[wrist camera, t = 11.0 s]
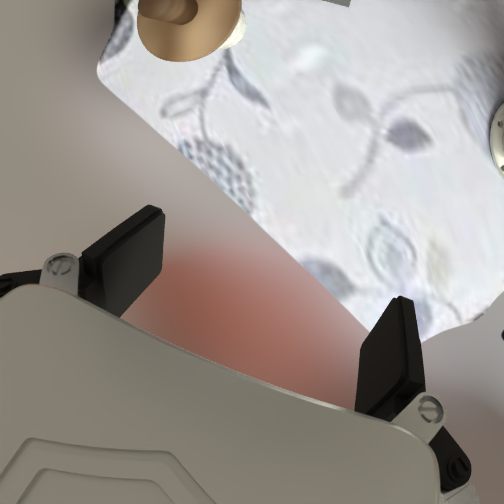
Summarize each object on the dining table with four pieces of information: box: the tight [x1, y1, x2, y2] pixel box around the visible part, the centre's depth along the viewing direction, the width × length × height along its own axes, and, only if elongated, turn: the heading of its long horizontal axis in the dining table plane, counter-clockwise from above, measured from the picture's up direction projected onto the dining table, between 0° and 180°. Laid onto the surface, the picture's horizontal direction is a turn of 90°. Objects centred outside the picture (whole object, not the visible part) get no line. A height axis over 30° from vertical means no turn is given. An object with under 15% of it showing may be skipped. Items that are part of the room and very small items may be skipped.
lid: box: [137, 0, 241, 62], centre depth 20 cm, size 11×11×6 cm
